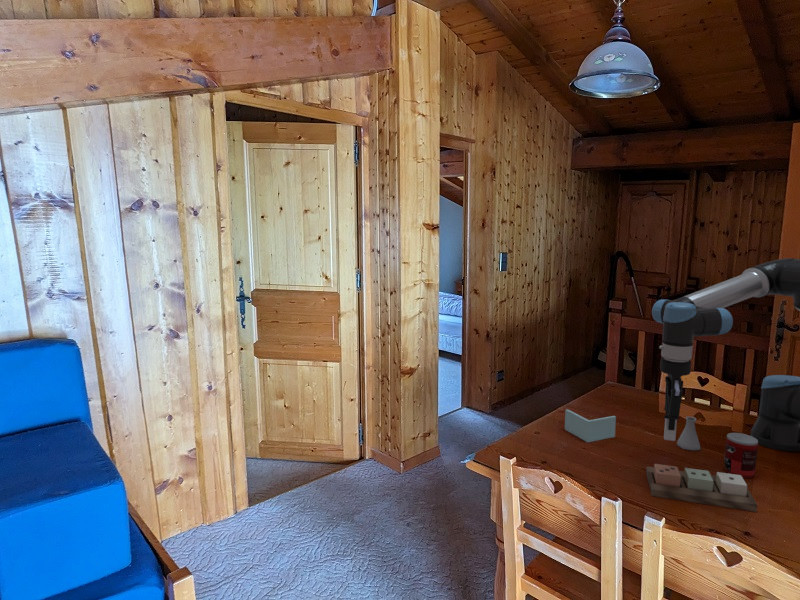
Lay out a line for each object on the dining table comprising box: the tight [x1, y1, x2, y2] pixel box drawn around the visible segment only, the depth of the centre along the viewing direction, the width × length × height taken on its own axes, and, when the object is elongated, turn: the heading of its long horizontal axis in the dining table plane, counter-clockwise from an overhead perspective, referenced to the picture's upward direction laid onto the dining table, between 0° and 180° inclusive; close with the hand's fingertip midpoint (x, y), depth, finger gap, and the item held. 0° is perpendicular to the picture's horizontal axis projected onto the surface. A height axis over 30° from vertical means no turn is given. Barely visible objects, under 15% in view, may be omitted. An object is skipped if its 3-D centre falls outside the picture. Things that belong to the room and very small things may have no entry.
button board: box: [645, 465, 758, 513], centre depth 147 cm, size 25×14×2 cm, turn 71°
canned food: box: [723, 432, 759, 479], centre depth 156 cm, size 8×8×11 cm
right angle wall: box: [564, 409, 617, 443], centre depth 186 cm, size 12×12×8 cm
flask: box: [676, 416, 701, 451], centre depth 174 cm, size 7×7×10 cm
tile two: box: [684, 467, 713, 492], centre depth 146 cm, size 6×6×3 cm
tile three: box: [653, 463, 681, 487], centre depth 149 cm, size 6×6×3 cm
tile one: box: [715, 471, 748, 497], centre depth 144 cm, size 6×6×3 cm
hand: (669, 439), depth 147 cm, fingers closed
